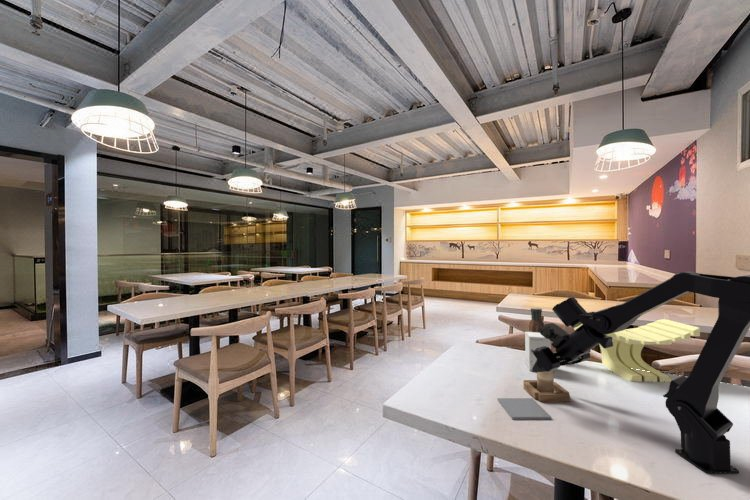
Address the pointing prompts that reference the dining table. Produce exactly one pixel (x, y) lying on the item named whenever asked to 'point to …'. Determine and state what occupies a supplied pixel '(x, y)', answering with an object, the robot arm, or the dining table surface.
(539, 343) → the supplement box
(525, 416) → the slate pad
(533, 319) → the sauce bottle
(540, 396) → the walnut frame
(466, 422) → the dining table surface
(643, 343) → the slatted curved stool
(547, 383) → the oak peg
